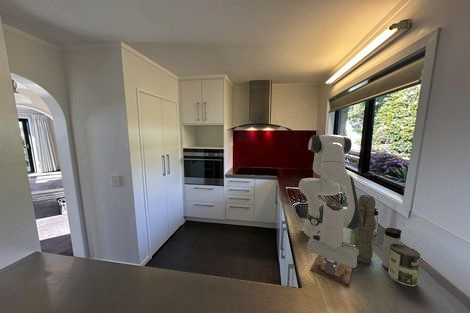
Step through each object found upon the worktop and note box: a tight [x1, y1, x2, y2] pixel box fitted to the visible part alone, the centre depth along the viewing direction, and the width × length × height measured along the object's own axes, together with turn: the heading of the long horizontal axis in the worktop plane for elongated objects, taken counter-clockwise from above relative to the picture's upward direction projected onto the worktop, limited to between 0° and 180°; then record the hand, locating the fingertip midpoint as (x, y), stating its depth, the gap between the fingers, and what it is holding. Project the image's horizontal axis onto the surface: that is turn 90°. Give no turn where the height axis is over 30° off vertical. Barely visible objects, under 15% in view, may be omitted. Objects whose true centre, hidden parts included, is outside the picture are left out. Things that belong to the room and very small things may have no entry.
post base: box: [310, 255, 354, 287], centre depth 92 cm, size 16×16×12 cm
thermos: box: [353, 194, 376, 264], centre depth 101 cm, size 9×12×35 cm
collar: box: [318, 255, 346, 275], centre depth 90 cm, size 15×11×5 cm
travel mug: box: [381, 227, 402, 270], centre depth 95 cm, size 6×7×20 cm
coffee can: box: [387, 243, 421, 287], centre depth 87 cm, size 10×10×14 cm
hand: (329, 267), depth 86 cm, fingers closed on collar, 3 cm apart
